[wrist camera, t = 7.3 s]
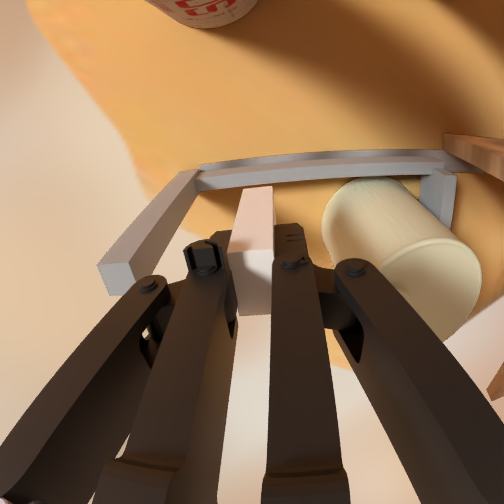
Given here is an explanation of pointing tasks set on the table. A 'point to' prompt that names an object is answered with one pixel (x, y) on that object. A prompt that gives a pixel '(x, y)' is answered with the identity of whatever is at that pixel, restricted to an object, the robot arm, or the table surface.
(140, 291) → the robot arm
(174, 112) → the table surface
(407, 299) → the can
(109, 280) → the slider
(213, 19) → the thermos bottle
